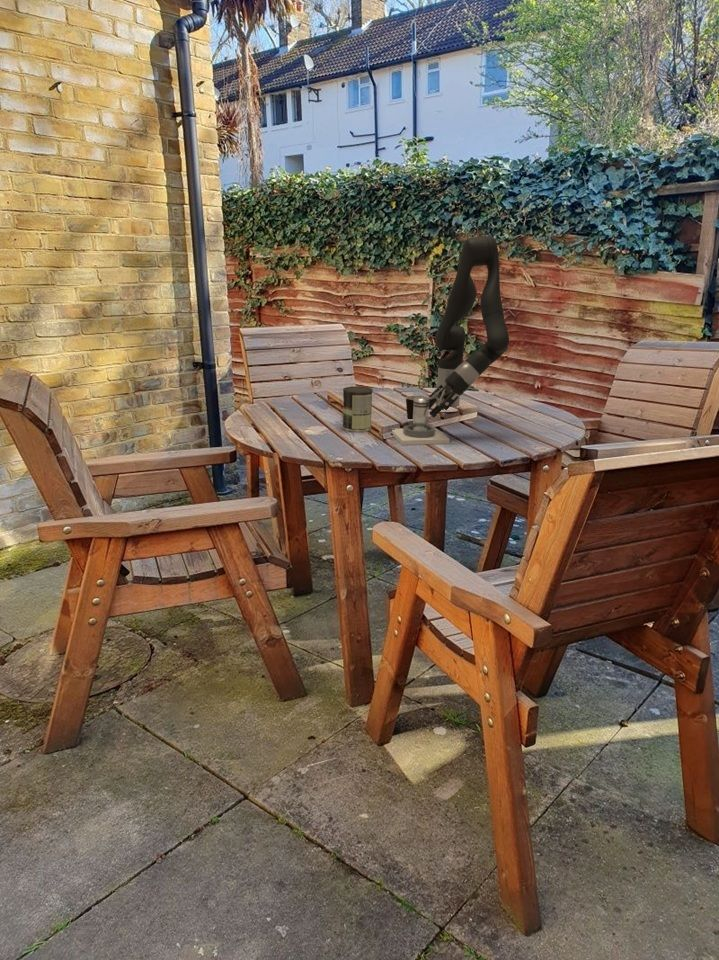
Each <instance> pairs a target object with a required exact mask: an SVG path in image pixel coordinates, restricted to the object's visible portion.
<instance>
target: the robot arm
mask: <svg viewBox="0 0 719 960" xmlns="http://www.w3.org/2000/svg"><path fill="white" fill-rule="evenodd" d="M481 266H486V268H487V278H486V282H485V285H484V288H483V290H482V293H481V296H480V298H479V299H480V300H479V305H480V312H481V317H482V321H483V322H482V323H483V324H484V326H485V332H486V340H487V341H486V342H485V343H484V344H483V345H482V346H480V348H479V349H477V350H475V351H473V352H472V354H470V355H469V356H468V357H467V358H466V359H465V360H464V354H465V352H464V351H465V343H466V331H465V328H464V327H463V326H461V325H455V324H458V322H459V321H461V320H462V319H463V318H464V317H466V316H467V315H469V313H470V312H471V311H472V309H473V307H474V304H475V301H476V299H477V296H478V295H477V294H478V293H477V292H478V290H477V287H476V285H475V282H474V280H473V279H472V275H471V272H472V269H473V268H474V267H481ZM500 279H501V278H500V258H499V246H498V242H497V240H496V239H495V238H494V237H493V236H490V235H487V236H473V237H467V238H466V239H465V241H464V242H463V244H462V247H461V252H460V257H459V261H458V267H457V271H456V275H455V277H454V282H453V285H452V288H451V291H450V294H449V296H448V301H447V304H446V307H445V311H444V314H443V316H442V318H441V321H440V323H439V325H438V327H437V331H436V334H435V339H434V340H435V341H434V342H435V346H436V348H437V349H438V350H440V351H452V353H451V354H450V355H448V356H446V357H443V358H441V359H439V360H438V365H437V383H436V389H435V390H434V391H432V393H431V394H429V396H428V397H429V408H428V411H429V410H430V409H431V408H432V407H433V406H434V405H435V406H434V407H433V409H431V411H429V412H428V415H430V416H431V417H432V418H435V417H437V415H439V414H440V413H441V412H440V411H441V410H444V409H445V410H447V409H448V408H449V407H457V406H459V407H460V400H461V396H462V395H463V394H464V393H465V392H467V391H468V390H469V388H470V387H471V386H472V385H473V384H474V383H475V382H476V381H477V379H478V378H479V377H480V376H481V375H482V374H483V373H484V372H486V370H487V369H488V368H489V367H490V365H492V364H493V363H495V362H496V361H497V360H498V359H499V358H500V357H502V356H503V355H504V354H505V352H506V351H507V350H508V348H509V345H510V335H509V332H508V331H509V330H508V328H507V324H506V321H505V313H504V308H503V303H502V302H503V301H502V298H501V284H500V281H501V280H500Z"/></svg>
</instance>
